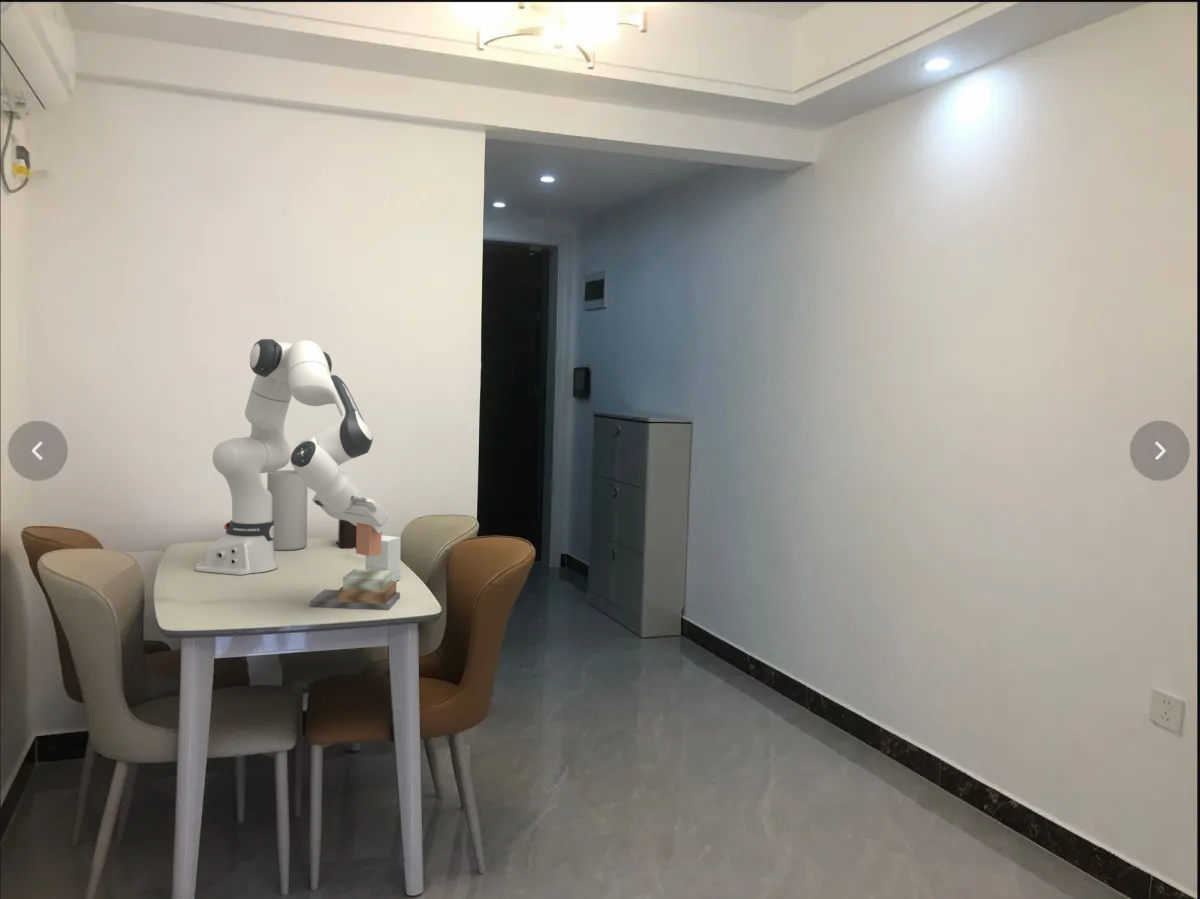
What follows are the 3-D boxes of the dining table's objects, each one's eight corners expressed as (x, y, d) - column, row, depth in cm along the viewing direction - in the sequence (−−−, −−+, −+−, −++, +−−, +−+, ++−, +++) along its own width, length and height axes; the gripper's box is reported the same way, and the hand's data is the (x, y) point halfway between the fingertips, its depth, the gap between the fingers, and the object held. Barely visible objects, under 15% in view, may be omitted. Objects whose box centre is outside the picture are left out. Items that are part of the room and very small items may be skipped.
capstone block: (368, 556, 231) (369, 521, 230) (356, 553, 234) (356, 518, 233) (381, 554, 234) (381, 519, 233) (368, 551, 237) (369, 517, 236)
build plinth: (309, 606, 229) (310, 577, 228) (324, 594, 241) (325, 567, 240) (388, 609, 229) (389, 580, 228) (399, 598, 241) (400, 570, 240)
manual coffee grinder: (335, 542, 311) (336, 490, 310) (368, 541, 315) (369, 490, 313) (337, 551, 296) (338, 497, 295) (372, 550, 300) (373, 497, 299)
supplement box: (401, 580, 261) (402, 536, 260) (386, 585, 254) (387, 540, 253) (378, 577, 263) (379, 534, 262) (364, 582, 256) (365, 538, 255)
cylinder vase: (284, 552, 291) (285, 475, 289) (258, 547, 298) (259, 472, 295) (314, 547, 302) (315, 472, 300) (288, 542, 308) (289, 469, 306)
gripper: (375, 489, 221) (405, 524, 229) (322, 481, 233) (353, 514, 241) (360, 509, 217) (391, 544, 226) (307, 500, 229) (339, 533, 238)
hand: (371, 529), depth 234 cm, fingers closed on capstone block, 5 cm apart
